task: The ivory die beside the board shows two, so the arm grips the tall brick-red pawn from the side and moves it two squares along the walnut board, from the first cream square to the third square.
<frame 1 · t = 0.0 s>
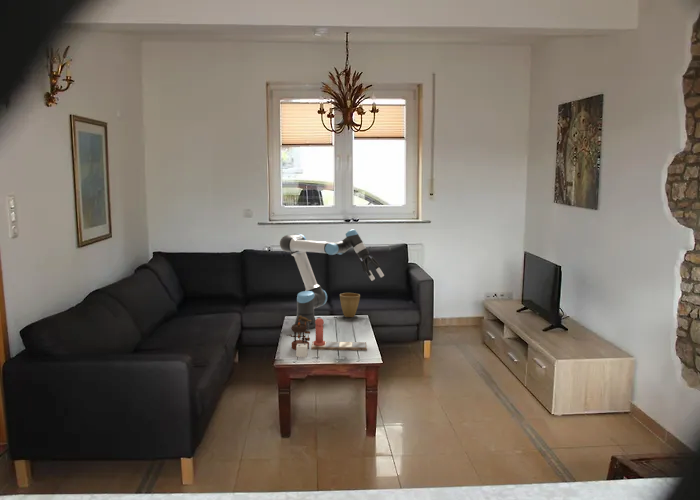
hand: (378, 278, 389), 36 cm above the table, tool tilted 35°, fingers open, 13 cm apart
board: (339, 347, 358), on the table
die: (302, 355, 341), on the table
plant pot: (349, 316, 434), on the table
music box: (298, 348, 355), on the table
pawn: (319, 344, 358), point 2 cm above the table, touching board
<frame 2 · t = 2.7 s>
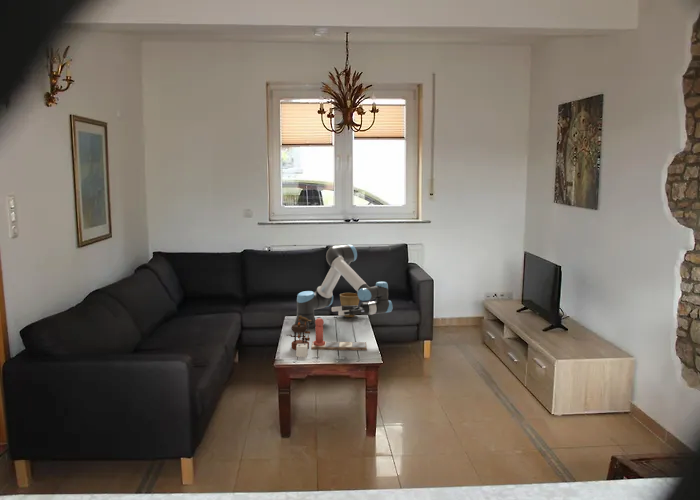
hand: (335, 311, 360), 21 cm above the table, tool horizontal, fingers open, 13 cm apart
nothing on the table moved.
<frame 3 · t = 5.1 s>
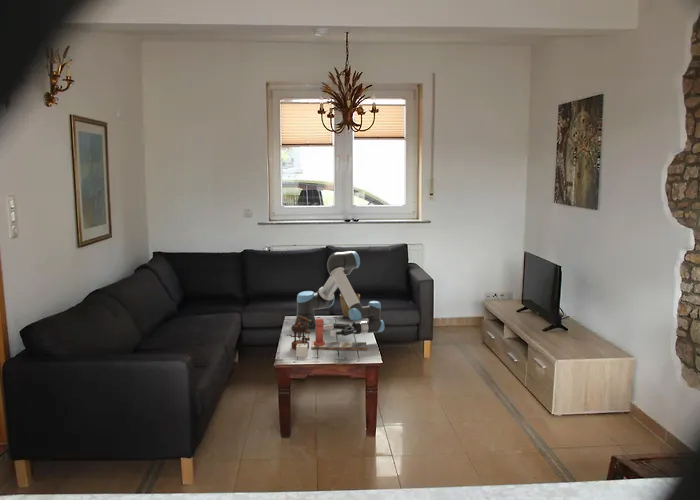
hand: (326, 330, 358), 10 cm above the table, tool horizontal, fingers open, 13 cm apart
nothing on the table moved.
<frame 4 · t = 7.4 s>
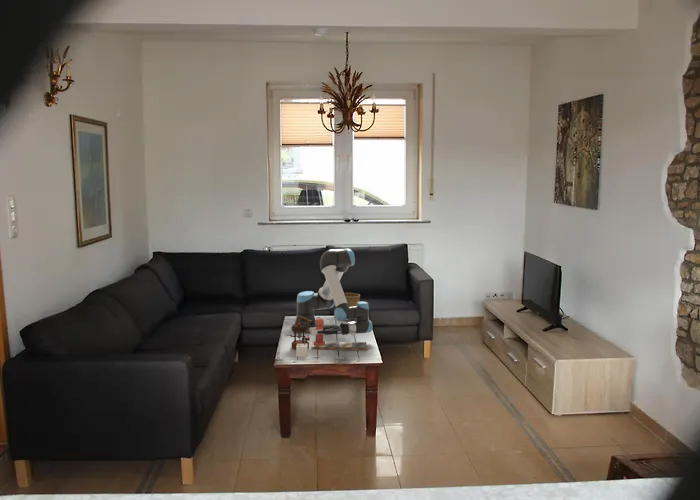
hand: (310, 331, 355), 10 cm above the table, tool horizontal, fingers closed on pawn, 4 cm apart
pawn: (319, 344, 358), point 2 cm above the table, touching board, gripper
everything else where it was.
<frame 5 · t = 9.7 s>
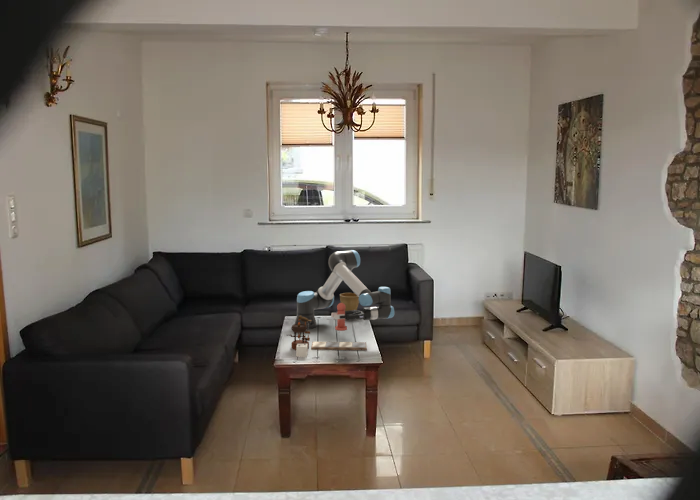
hand: (332, 316, 353), 20 cm above the table, tool horizontal, fingers closed on pawn, 4 cm apart
pawn: (341, 329, 356), point 11 cm above the table, touching gripper
everything else where it was.
when the fingers open (11 cm above the table, at t = 12.0 s): pawn drops 1 cm, resting on board.
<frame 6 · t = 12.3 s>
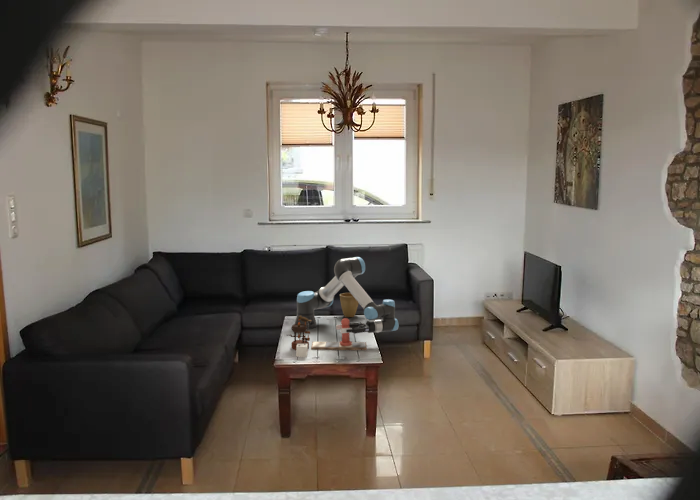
hand: (338, 329, 355), 11 cm above the table, tool horizontal, fingers open, 8 cm apart
pawn: (345, 344, 358), point 2 cm above the table, touching board
everything else where it was.
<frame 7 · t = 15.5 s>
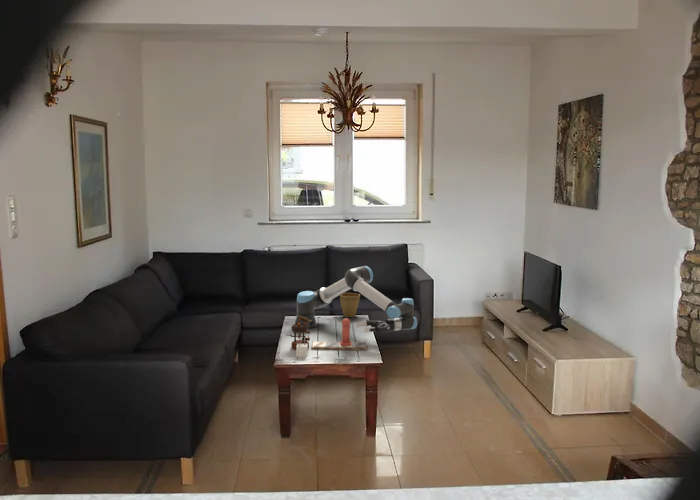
hand: (360, 327, 360), 12 cm above the table, tool horizontal, fingers open, 13 cm apart
nothing on the table moved.
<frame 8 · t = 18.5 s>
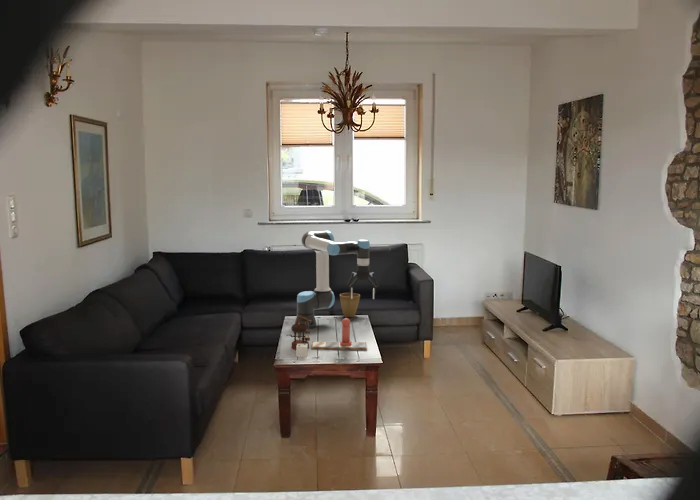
hand: (362, 298, 369), 27 cm above the table, tool pointing down, fingers open, 13 cm apart
nothing on the table moved.
at the end: pawn inside the target area on the board (0.0 cm from its centre), point 1.7 cm above the board's base; pawn tilted 1°; the gripper is holding nothing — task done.
